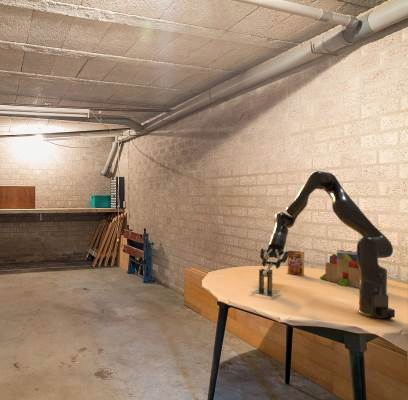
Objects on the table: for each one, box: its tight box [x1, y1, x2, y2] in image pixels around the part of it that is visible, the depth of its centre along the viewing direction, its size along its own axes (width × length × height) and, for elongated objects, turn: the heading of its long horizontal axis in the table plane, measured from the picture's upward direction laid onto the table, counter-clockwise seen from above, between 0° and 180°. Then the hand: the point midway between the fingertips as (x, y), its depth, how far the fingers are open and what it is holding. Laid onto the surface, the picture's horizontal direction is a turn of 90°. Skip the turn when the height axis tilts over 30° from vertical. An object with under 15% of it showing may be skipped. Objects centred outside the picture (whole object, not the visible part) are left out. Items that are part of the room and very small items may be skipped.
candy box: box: [287, 249, 305, 276], centre depth 224 cm, size 9×4×15 cm, turn 43°
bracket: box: [250, 268, 281, 298], centre depth 174 cm, size 13×10×13 cm
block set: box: [319, 252, 360, 289], centre depth 200 cm, size 28×14×19 cm, turn 21°
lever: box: [262, 260, 277, 278], centre depth 178 cm, size 12×5×2 cm, turn 138°
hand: (270, 266), depth 179 cm, fingers open, 6 cm apart
